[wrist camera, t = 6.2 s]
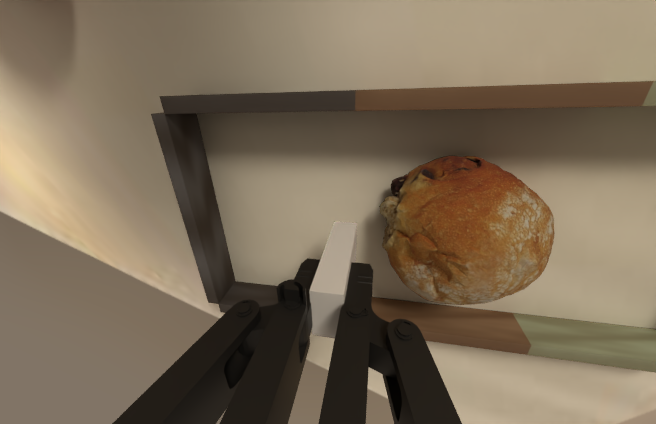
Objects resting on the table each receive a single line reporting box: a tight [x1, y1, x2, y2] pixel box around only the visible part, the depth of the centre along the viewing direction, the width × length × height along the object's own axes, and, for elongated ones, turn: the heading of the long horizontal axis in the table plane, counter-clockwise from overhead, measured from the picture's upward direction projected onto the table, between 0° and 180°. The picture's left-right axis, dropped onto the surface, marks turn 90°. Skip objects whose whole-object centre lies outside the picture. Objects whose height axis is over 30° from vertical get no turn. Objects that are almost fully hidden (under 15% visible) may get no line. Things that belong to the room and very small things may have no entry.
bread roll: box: [380, 156, 554, 305], centre depth 17 cm, size 10×10×8 cm
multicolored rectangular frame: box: [151, 81, 656, 372], centre depth 18 cm, size 18×38×3 cm, turn 91°
